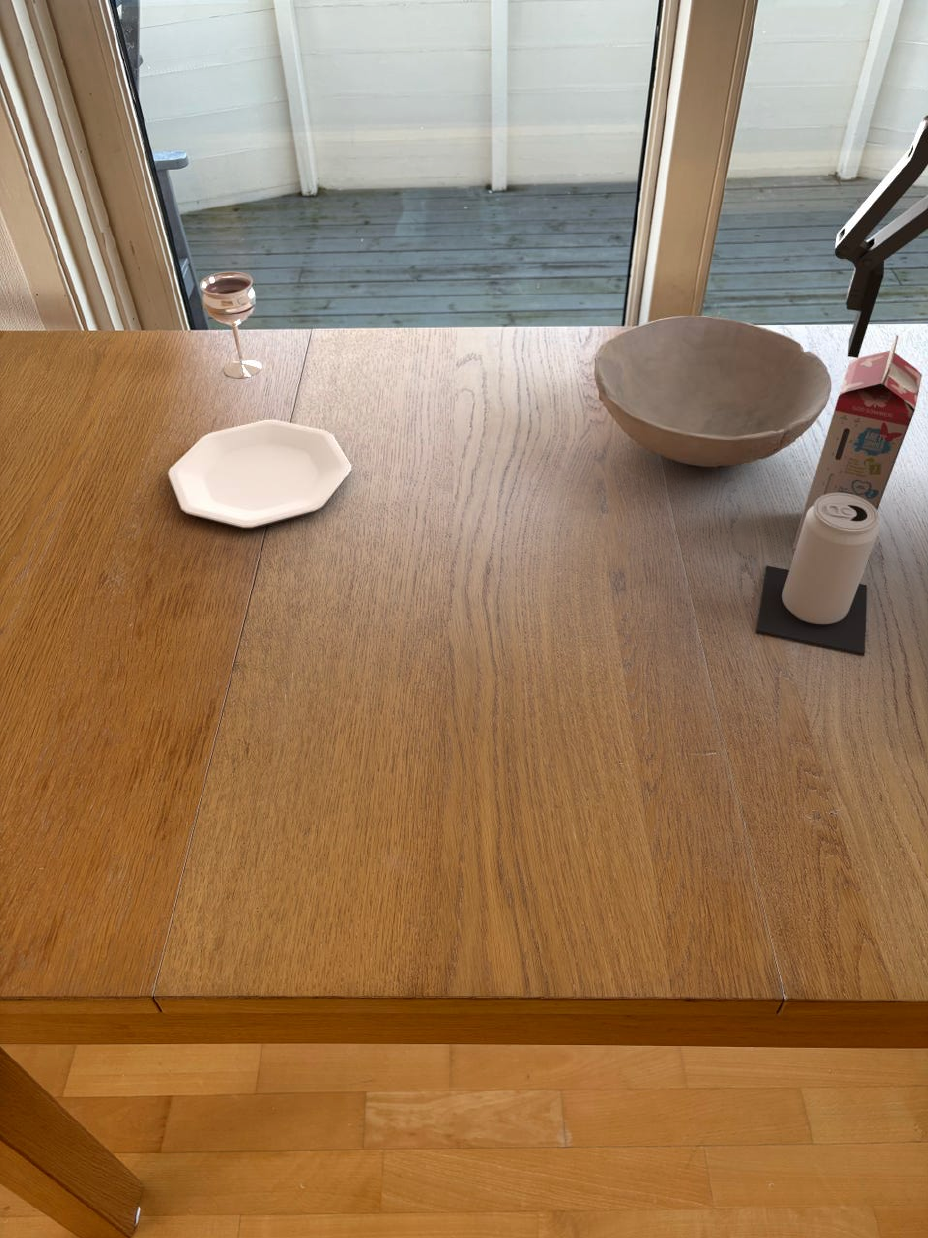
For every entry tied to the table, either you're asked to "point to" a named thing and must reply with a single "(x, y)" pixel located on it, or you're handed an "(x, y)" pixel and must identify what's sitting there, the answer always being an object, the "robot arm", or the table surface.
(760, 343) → the bowl
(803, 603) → the beverage can
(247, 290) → the wineglass
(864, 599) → the coaster
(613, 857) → the table surface
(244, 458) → the plate
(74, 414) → the table surface
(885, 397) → the juice carton
